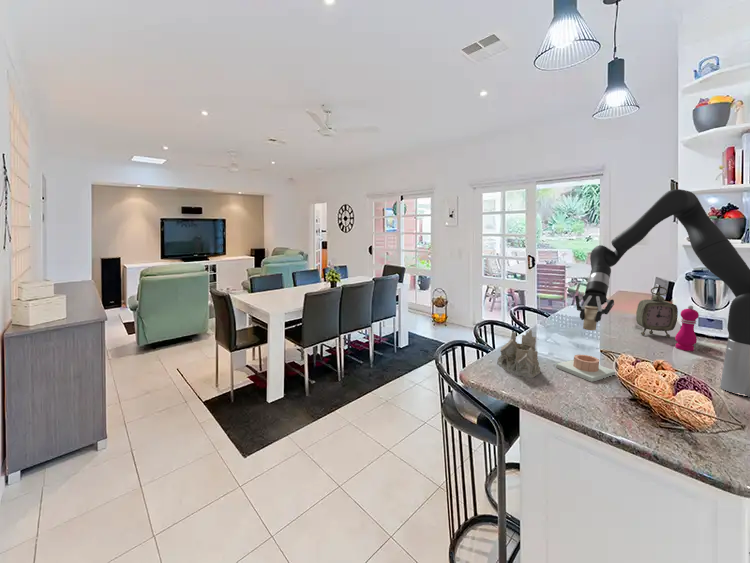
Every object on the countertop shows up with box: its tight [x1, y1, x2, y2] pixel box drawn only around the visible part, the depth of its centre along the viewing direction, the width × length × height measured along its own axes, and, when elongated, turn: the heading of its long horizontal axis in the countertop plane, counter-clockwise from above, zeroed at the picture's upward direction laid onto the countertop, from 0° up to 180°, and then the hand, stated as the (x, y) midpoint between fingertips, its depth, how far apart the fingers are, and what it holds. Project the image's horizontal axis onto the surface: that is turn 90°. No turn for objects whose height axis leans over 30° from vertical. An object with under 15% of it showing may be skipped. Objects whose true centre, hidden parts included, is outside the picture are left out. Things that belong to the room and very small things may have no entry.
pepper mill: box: [674, 305, 699, 352], centre depth 155 cm, size 7×7×20 cm
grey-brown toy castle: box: [496, 329, 541, 379], centre depth 132 cm, size 16×16×15 cm
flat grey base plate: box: [555, 354, 616, 383], centre depth 130 cm, size 14×14×5 cm
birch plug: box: [582, 306, 598, 331], centre depth 137 cm, size 4×4×9 cm
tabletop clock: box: [635, 286, 679, 338], centre depth 175 cm, size 14×9×25 cm, turn 73°
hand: (589, 319), depth 136 cm, fingers closed on birch plug, 4 cm apart
